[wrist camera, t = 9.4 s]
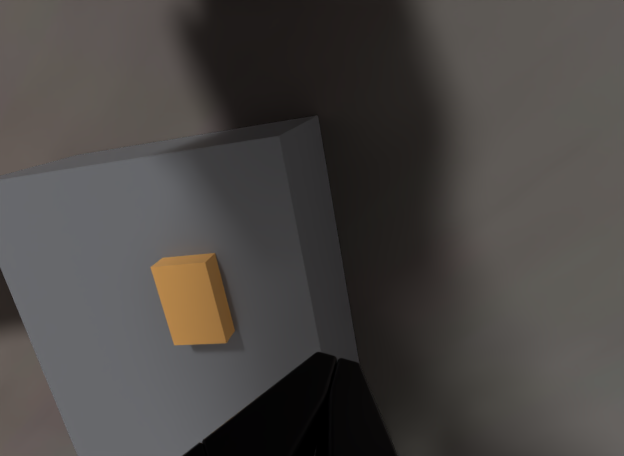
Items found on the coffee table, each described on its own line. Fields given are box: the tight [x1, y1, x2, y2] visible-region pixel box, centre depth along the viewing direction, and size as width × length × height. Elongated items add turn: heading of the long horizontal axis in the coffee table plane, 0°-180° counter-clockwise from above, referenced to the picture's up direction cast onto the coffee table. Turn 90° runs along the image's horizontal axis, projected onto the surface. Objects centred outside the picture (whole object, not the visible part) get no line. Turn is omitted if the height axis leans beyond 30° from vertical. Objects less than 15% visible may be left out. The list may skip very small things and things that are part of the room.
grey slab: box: [0, 115, 359, 456], centre depth 21 cm, size 21×12×7 cm, turn 10°
